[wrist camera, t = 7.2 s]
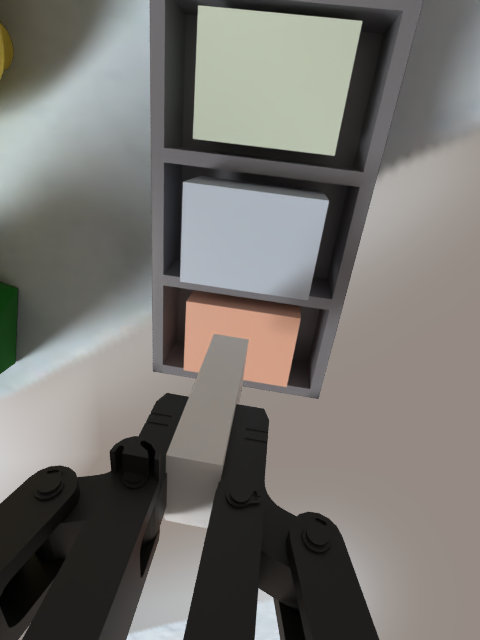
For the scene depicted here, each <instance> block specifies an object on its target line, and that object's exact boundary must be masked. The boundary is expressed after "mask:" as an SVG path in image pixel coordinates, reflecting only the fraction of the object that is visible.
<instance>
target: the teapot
mask: <svg viewBox="0 0 480 640" xmlns="http://www.w3.org/2000/svg"><path fill="white" fill-rule="evenodd" d="M12 60H13V44H12V40H11V38H10V35H9V34H8V32H7V30H6V29H5V27H4V26H3V25H2V24H1V23H0V80H1V77H2V74H3V71H5V70H6V69H8V68H9V66H10V65H11V63H12Z"/></svg>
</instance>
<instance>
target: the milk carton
mask: <svg viewBox="0 0 480 640" xmlns="http://www.w3.org/2000/svg"><path fill="white" fill-rule="evenodd" d="M17 308H18V288H16V287H13V286H10V285H7V284H5V283H2V282H0V374H1V373H2V372H4V371H5V370H6V369H8V368H9V367H10V366H12V365H13V364H15V362H16V335H17Z"/></svg>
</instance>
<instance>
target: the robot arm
mask: <svg viewBox="0 0 480 640" xmlns="http://www.w3.org/2000/svg"><path fill="white" fill-rule="evenodd" d="M248 342H249V339H243V338H237V337H230V336H224V335H218V334H214V335H213V338H212V340H211V343H210V345H209V348H208V350H207V353H206V355H205V358H204V360H203V363H202V365H201V368H200V370H199V373H198V376H197V378H196V381H195V383H194V386H193V388H192V391H191V393H190V396H189V397H187V396H181V395H175V394H169V393H166V394H165V395H164V396H163V397H161V398H160V399H159V400H158V401H156V404H155V405H154V407H153V409H152V411H151V414H150V415H149V417H148V419H147V421H146V423H145V425H144V427H143V429H142V431H141V433H140V434H139V436H134V437H130V438H126V439H123V440H122V441H120V442H118V443H117V444H115V445H114V447H113V448H112V449H111V450H110V460H111V471H110V472H108V473H105V474H101V475H95V476H86V477H77V476H76V473H75V472H74V471H73V470H71V469H70V468H69V467H64V466H51V467H48V468H45V469H42V470H40V471H38V472H37V473H35V474H34V475H32V476H31V477H29V478H28V479H27V480H26V481H25V482H24V483H23V484H22V485H21V486H20V487H18V488H17V489H16V490H15V491H14V492H13V493H12V494H11V495H9V497H7V498H6V499H5V500H4V501H3V502H2V503H1V504H0V640H18V639H19V638H20V637H21V635H22V634H23V633H24V631H25V630H26V629H27V627H28V626H29V625H30V626H29V628H28V630H27V631H26V633H25V635H24V637H23V639H22V640H126V639H127V635H128V632H129V629H130V626H131V623H132V620H133V617H134V614H135V611H136V608H137V605H138V602H139V598H140V596H141V593H142V590H143V586H144V583H145V580H146V577H147V574H148V571H149V568H150V565H151V562H152V559H153V556H154V553H155V550H156V547H157V544H158V541H159V533H160V524H161V521H162V518H163V515H164V512H165V520H167V521H173V522H178V523H183V524H188V525H193V526H198V527H203V528H207V533H206V538H205V542H204V547H203V551H202V556H201V561H200V565H199V570H198V574H197V579H196V583H195V588H194V593H193V597H192V602H191V606H190V611H189V616H188V620H187V625H186V629H185V634H184V639H183V640H254V638H255V625H256V611H257V597H258V588H259V589H261V590H263V591H264V592H266V593H267V594H269V595H270V596H272V597H273V598H274V604H275V610H276V616H277V622H278V628H279V634H280V640H379V638H378V635H377V632H376V629H375V626H374V624H373V621H372V618H371V615H370V613H369V610H368V607H367V604H366V601H365V599H364V596H363V593H362V590H361V587H360V585H359V582H358V579H357V576H356V573H355V571H354V568H353V565H352V562H351V560H350V557H349V554H348V552H347V548H346V546H345V543H344V540H343V537H342V535H341V533H340V532H339V530H338V528H337V526H336V525H335V524H334V523H333V522H332V521H331V520H330V519H328V518H327V517H325V516H323V515H321V514H319V513H313V512H306V513H302V514H299V515H298V516H295V515H293V514H291V513H289V512H287V511H285V510H283V509H282V508H280V507H279V506H277V505H276V504H275V503H274V502H273V501H272V500H271V498H270V497H269V495H268V494H267V491H266V489H265V481H264V480H265V467H266V454H267V440H268V426H269V419H268V417H267V414H266V412H265V410H264V409H262V408H256V407H250V406H244V405H239V401H240V396H241V391H242V384H243V377H244V370H245V363H246V356H247V349H248ZM30 623H31V624H30Z"/></svg>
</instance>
